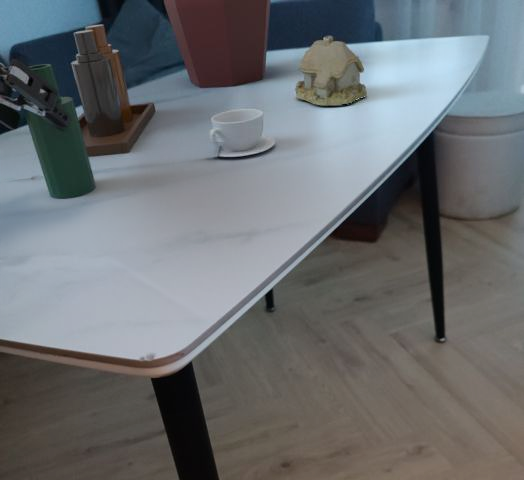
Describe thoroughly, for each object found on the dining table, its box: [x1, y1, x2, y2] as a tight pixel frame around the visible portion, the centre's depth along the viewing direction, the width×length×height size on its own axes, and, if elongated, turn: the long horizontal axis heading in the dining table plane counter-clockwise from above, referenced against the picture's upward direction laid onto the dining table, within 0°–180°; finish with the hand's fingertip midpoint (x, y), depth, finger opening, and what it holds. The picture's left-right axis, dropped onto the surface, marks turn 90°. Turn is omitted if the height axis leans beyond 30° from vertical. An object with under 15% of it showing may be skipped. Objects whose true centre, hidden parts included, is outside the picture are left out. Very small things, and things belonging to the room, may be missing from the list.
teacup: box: [208, 108, 276, 158], centre depth 85 cm, size 10×10×5 cm
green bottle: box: [22, 63, 97, 199], centre depth 74 cm, size 6×6×15 cm
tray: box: [78, 102, 156, 158], centre depth 99 cm, size 13×26×2 cm, turn 0°
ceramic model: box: [294, 35, 367, 106], centre depth 104 cm, size 14×11×10 cm
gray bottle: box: [70, 29, 126, 137], centre depth 95 cm, size 6×6×15 cm
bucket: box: [163, 0, 271, 89], centre depth 124 cm, size 24×22×25 cm
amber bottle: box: [84, 24, 133, 123], centre depth 101 cm, size 6×6×15 cm
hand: (41, 123), depth 72 cm, fingers open, 8 cm apart
